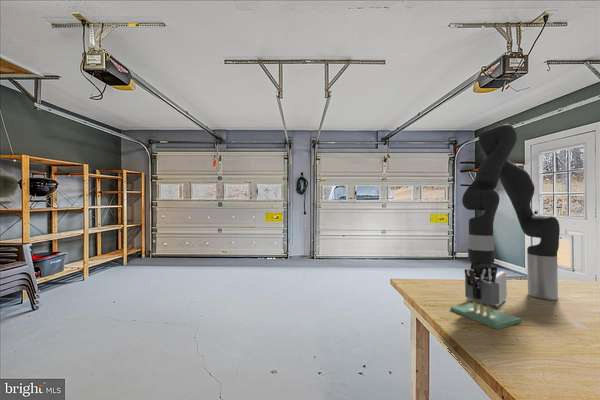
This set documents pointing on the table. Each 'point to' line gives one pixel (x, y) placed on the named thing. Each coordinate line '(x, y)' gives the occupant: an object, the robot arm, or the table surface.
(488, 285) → the block
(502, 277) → the white socket shroud
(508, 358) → the table surface
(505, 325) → the board
